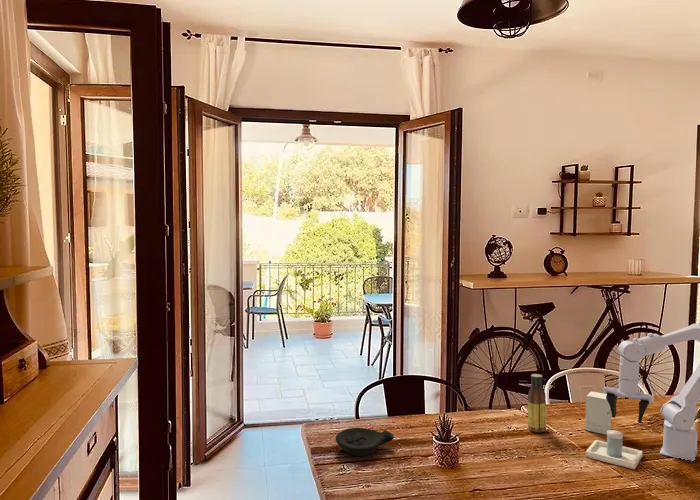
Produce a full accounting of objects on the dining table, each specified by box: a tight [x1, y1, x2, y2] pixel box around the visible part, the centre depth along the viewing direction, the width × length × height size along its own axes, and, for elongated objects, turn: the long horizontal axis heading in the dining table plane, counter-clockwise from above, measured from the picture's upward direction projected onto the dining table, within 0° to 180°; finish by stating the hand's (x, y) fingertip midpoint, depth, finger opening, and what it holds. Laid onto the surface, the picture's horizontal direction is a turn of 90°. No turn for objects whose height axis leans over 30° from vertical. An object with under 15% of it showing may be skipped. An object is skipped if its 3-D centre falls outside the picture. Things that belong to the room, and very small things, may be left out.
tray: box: [585, 439, 643, 470], centre depth 172 cm, size 14×12×2 cm
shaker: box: [606, 429, 624, 458], centre depth 172 cm, size 5×5×7 cm
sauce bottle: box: [527, 373, 547, 433], centre depth 193 cm, size 6×6×20 cm
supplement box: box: [584, 391, 612, 436], centre depth 195 cm, size 7×7×13 cm
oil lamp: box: [335, 427, 395, 457], centre depth 174 cm, size 15×20×5 cm
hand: (626, 419), depth 176 cm, fingers open, 7 cm apart
